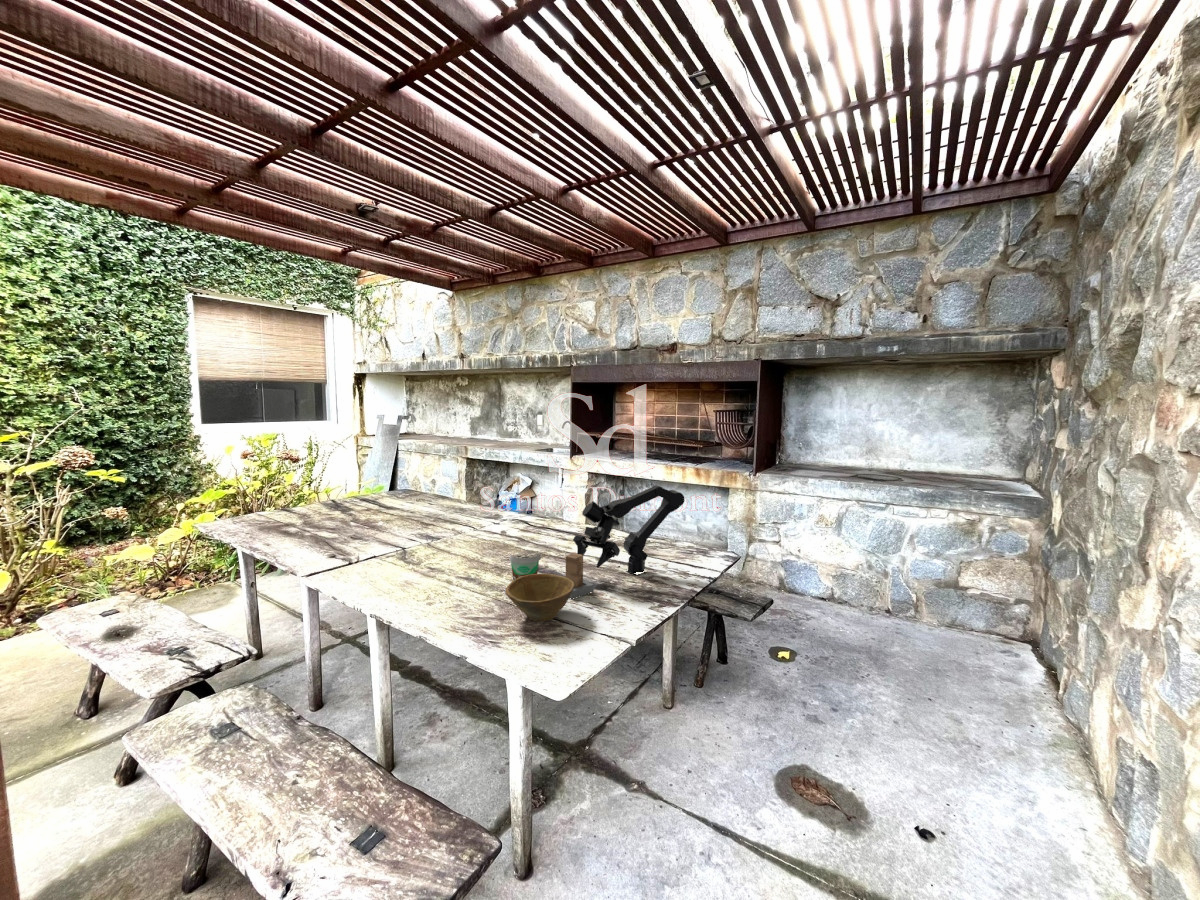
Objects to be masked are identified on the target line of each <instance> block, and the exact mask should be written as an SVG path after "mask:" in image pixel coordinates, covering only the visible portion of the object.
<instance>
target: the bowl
mask: <svg viewBox="0 0 1200 900" xmlns="http://www.w3.org/2000/svg"><path fill="white" fill-rule="evenodd" d="M574 586H575V585H574V582H573V581H572V580H570V579H569V578H567V577H566V576H563V575H558V574H551V573H543V572H542V573H538V574H530V575H526V576H522V577H519V578H517V579H515V580H512V581H511V582H510V583H509V584H508V585H506V589H505V593H506V595H507V596H506V597H508V599H510V600H511V602H512V603H513V604H514V605H515V606H516V608H517V609H519V610H520V612H522V613H523V614H524V615H526V616H527V617H528V618H529V619H530V620H531V621H533V622H542V623H543V622H548V621H551V620H553V619H555V618H556V616H557V615H558V614H559V612H561V610H562V609H563V607H565V606H566V605H567V602H568V601H569V597H570V595H571V593H572V592H573V589H574Z"/></svg>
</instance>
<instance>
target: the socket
mask: <svg viewBox="0 0 1200 900" xmlns="http://www.w3.org/2000/svg"><path fill="white" fill-rule="evenodd" d="M594 585H595V584H593V583H591V582H589V581H586V580H584V579H583V586H580V587H577V588H574V589H573V592H572V593H571V595H570V597H569V598H571V599H573V598H576V597H579V596H582V595H585V594H588V593H590V592H593V591H595V587H594ZM588 595H589V594H588ZM585 596H586V595H585ZM582 597H583V596H582ZM579 598H580V597H579ZM571 599H570V600H571ZM576 599H577V598H576ZM573 600H574V599H573Z"/></svg>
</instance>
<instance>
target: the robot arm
mask: <svg viewBox="0 0 1200 900" xmlns="http://www.w3.org/2000/svg"><path fill="white" fill-rule="evenodd" d="M658 497H660V498H662V500H661V504H660V506H659V507H658V508H657V509H656V510H655V512H654V513H653V514H652V515H651V516H650V518H648V520H646V522H645V523H644V524H643V525H642V526H641V528H640V529H639V530H638V531H637V532H635V533H634V532H632V531H631V532H629V534H628V535H627V537H625V538H624V541H623V549H624V550H625V552H626V553H627V554H628V555H629V557H628V562H627V569H628V572H627V573H629V572H631V573H636V572H643V571H644V569H645V568H646V560H647V558H648V554H647V552H645V551H644V549H645V547H646V544H647V541H648V539H649V538H650V537H651V536H652V535H653V533H654V532H655V531H656V529H657V528H659V526H660V525H661V524H662V523H663V522H664V520H665V519H666V518H667V517H668V515H670V514H671V513H672V512H674V511H676V510H678V509H679V508H680V507H682V505H683V504H684V503H685V495H684V494H683V493H682V492H679V491H677V490H675V489H667V488H663V487H662V486H660V485H658V484H654V485H653V486H651V487H649V488H647V489H645V490H643V491H641V492H640V491H639V492H638V493H636V494H633V495H632V496H630V497H629V496H628V497H626V498H619V499H616V500H612V501H611V502H609V504H606V505H603V506H600V505H598V504H597V502H595V501H594V500H593V501H591V502H590V503H589V504H587V505H586V506H585V507H584V508H583V510H582V516H583V517H584V518H586V519H587V520H589V521H590V522H592V523H593V524H595V523H598V524H597V526H594V527H590V526H585V529H584V533H583V535H580V534H576V535H574V537H573V539H572V541H573V542H574V544H575V545H576V546H577V548H576V549H577V552H576V554H580V555H583V556H584V555H585V554H586V552H587V549H588V547H592V548H597V549H601V551H602V552H601V555H600V557H599V559H598V561H597V564H596V568H600V567H601V566H602V565H604V564H605V563H606V562H608V560H611V559H612V558H615V557H618V556H619V554H620V552H621V550H620V549H621V548H620V547H619V546H618V545H617V543H616V542H613V541H609V540H608V539H610V538H611V535H610V534H611V532H612V530H613V528H614V527H616V526H620V521H619V519H621V518H623V517H624V516H626V515H628V514H629V513H630V512H631V511H632V509H634V508H636V507H638V506H640V505H643V504H645V503H648V502H650V501H652V500H654V499H656V498H658ZM585 536H587V538H588V539H589V540H588V539H587V538H586V537H585ZM645 570H646V569H645ZM631 573H630V574H631Z"/></svg>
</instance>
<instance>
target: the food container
mask: <svg viewBox="0 0 1200 900" xmlns="http://www.w3.org/2000/svg"><path fill="white" fill-rule="evenodd" d="M541 556H542V555H541V554H540V552H538V553H537V554H521V555H516V556H515V555H514V556H513V555H512V554H511V553H510V555H509V556H508V557H509V558H508V560H509V562H510V566H511V574H512V581H514V580H515V579H517V578H519V577H522V576H526V575H530V574H539V573H538V571H539V563H540V560H541V559H542V557H541Z"/></svg>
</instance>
